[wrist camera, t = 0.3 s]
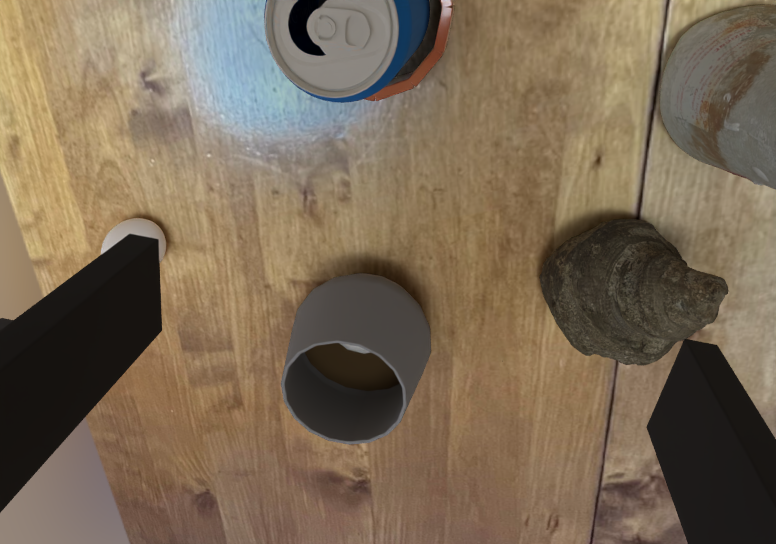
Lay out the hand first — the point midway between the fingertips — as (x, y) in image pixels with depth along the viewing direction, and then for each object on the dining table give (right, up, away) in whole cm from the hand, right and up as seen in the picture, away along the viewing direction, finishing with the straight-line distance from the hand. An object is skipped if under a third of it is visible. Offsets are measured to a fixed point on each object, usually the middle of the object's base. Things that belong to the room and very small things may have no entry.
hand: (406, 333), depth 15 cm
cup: (-2, -1, +30) cm, 30 cm away
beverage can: (-1, +17, +21) cm, 27 cm away
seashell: (+13, +1, +26) cm, 29 cm away
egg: (-18, +4, +29) cm, 35 cm away
